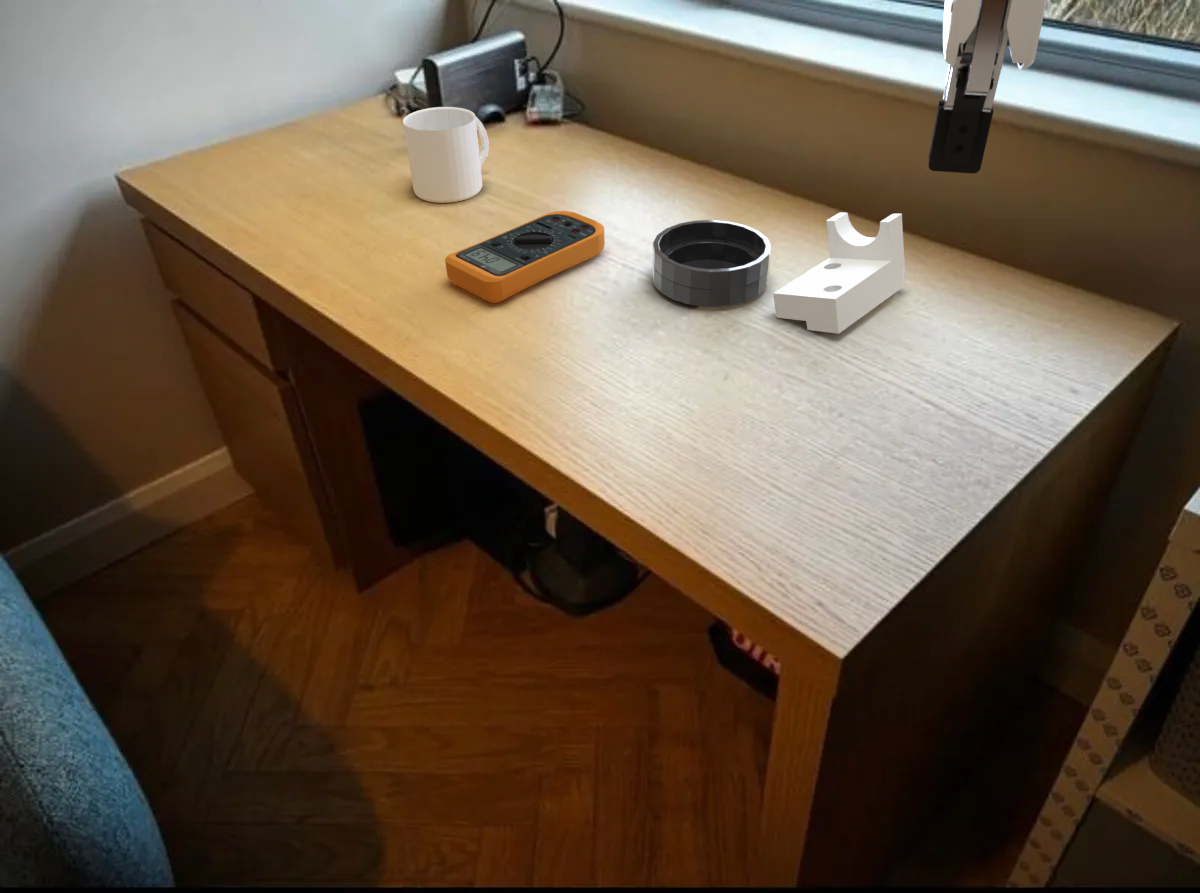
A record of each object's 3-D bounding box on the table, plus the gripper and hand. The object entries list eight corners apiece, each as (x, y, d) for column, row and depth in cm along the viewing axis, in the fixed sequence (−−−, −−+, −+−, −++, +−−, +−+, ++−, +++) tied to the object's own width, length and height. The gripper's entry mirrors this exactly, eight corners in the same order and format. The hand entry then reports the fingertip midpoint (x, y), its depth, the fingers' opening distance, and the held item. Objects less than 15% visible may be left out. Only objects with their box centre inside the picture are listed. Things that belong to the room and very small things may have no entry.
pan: (773, 263, 100) (777, 225, 97) (758, 317, 91) (762, 277, 88) (665, 252, 103) (666, 215, 100) (641, 303, 94) (641, 264, 91)
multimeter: (614, 252, 103) (613, 224, 101) (494, 310, 93) (491, 280, 91) (562, 231, 108) (561, 203, 106) (443, 284, 98) (439, 255, 96)
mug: (436, 209, 114) (426, 135, 108) (401, 188, 119) (389, 117, 114) (514, 184, 120) (508, 113, 114) (477, 166, 125) (470, 97, 119)
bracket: (845, 280, 99) (839, 212, 95) (905, 285, 94) (901, 213, 90) (777, 326, 91) (768, 254, 88) (838, 333, 86) (831, 258, 83)
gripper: (1122, -160, 41) (1023, 217, 53) (1081, -181, 53) (1006, 134, 64) (951, -157, 43) (890, 208, 54) (946, -177, 55) (896, 128, 66)
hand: (953, 167), depth 59 cm, fingers closed
